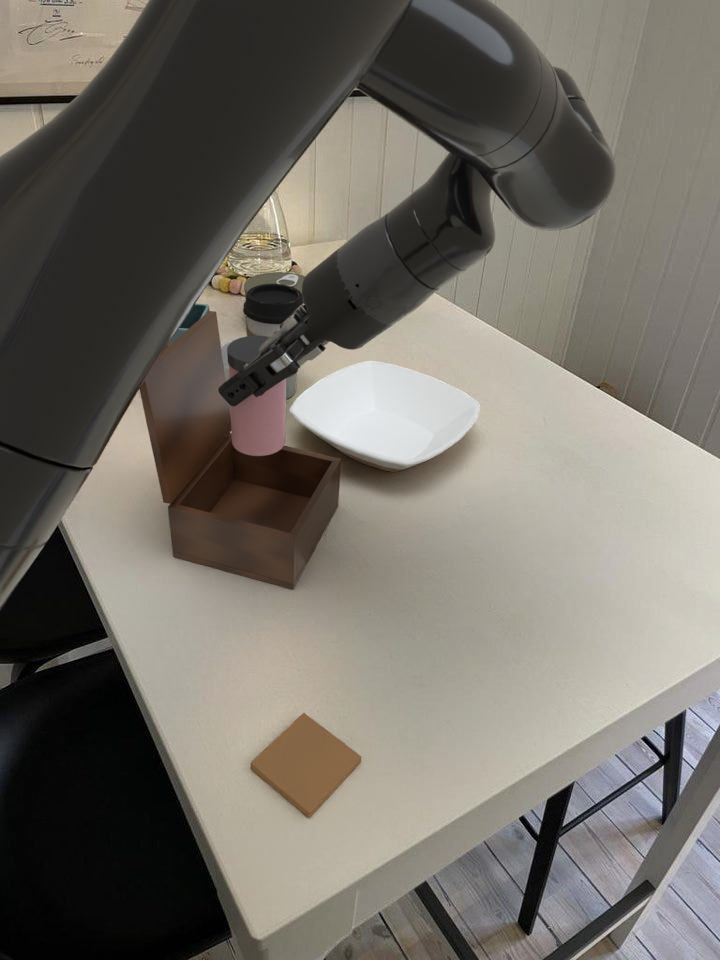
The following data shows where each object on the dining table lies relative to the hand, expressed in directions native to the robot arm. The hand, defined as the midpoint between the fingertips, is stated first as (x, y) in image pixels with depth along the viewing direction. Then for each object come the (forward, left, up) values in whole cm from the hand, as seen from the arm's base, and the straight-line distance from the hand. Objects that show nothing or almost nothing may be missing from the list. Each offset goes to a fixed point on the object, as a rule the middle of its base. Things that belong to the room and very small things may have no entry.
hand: (240, 381), depth 70 cm
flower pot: (+19, +34, -20) cm, 44 cm away
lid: (0, +7, -5) cm, 8 cm away
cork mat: (-16, -23, -20) cm, 34 cm away
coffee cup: (+25, +20, -20) cm, 38 cm away
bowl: (+26, +1, -20) cm, 33 cm away
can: (+41, +34, -20) cm, 57 cm away
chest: (+2, 0, -20) cm, 20 cm away
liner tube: (+1, -2, -6) cm, 6 cm away
